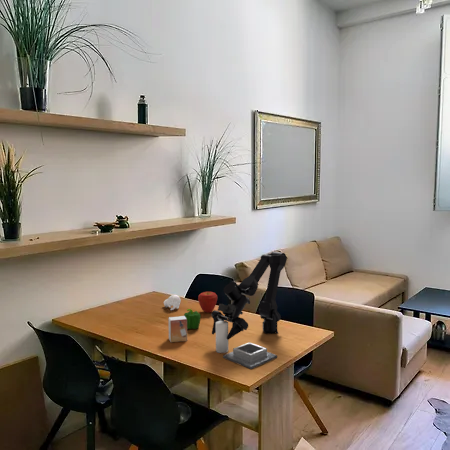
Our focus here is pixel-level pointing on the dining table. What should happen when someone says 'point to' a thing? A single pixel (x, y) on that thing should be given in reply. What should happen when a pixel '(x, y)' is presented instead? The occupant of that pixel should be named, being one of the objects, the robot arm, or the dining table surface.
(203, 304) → the apple
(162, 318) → the dining table surface
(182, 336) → the small box
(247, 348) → the duct collar
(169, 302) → the white animal figurine
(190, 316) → the bell pepper
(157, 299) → the dining table surface
